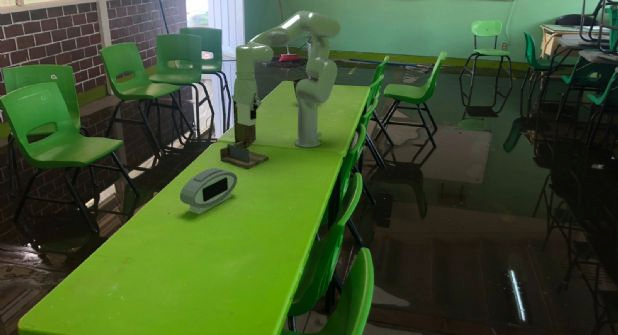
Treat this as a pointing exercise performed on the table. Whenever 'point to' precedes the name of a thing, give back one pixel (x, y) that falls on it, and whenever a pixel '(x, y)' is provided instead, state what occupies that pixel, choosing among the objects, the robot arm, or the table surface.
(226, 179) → the alarm clock
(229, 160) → the shelf
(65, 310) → the table surface
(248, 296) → the table surface
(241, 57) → the robot arm
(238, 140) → the book
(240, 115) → the plain rectangular box
